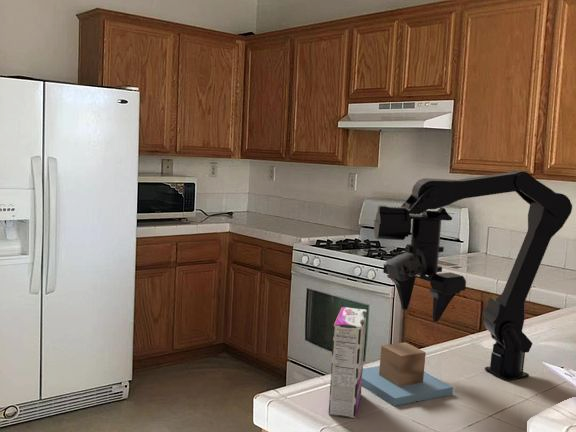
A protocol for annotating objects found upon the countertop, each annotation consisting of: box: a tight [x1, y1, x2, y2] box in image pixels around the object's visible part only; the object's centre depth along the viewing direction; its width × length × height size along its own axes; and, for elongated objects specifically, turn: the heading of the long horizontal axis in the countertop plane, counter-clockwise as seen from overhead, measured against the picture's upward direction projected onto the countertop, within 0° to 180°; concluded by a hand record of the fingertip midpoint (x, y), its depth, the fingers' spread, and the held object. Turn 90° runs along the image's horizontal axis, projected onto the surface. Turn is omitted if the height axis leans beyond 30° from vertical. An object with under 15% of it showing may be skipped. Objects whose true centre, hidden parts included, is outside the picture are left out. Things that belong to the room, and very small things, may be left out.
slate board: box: [361, 365, 454, 407], centre depth 124 cm, size 14×14×2 cm
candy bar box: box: [328, 306, 368, 419], centre depth 113 cm, size 11×5×16 cm, turn 168°
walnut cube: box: [379, 342, 427, 387], centre depth 123 cm, size 6×6×6 cm
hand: (419, 315), depth 131 cm, fingers open, 9 cm apart
